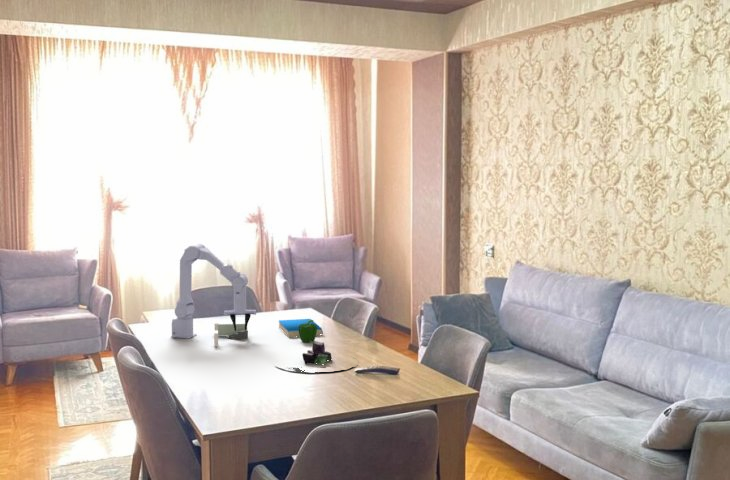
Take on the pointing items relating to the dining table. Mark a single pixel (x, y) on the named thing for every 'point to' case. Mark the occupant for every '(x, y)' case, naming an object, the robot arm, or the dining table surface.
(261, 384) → the dining table surface
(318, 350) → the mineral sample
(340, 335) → the dining table surface
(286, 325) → the book
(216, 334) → the rectangular block
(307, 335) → the bell pepper
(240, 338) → the grey stepped block
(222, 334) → the door
